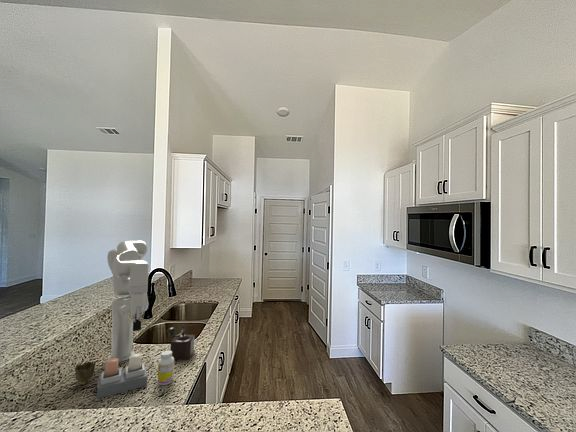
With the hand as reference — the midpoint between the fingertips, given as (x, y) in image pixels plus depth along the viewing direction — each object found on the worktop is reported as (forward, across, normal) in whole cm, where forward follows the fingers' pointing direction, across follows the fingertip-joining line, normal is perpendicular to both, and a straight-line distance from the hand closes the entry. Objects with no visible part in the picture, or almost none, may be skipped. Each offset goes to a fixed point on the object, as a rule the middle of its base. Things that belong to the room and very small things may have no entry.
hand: (136, 330), depth 122 cm
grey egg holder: (+23, 0, -5) cm, 23 cm away
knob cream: (+17, 0, 0) cm, 17 cm away
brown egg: (+17, 0, -9) cm, 19 cm away
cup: (+23, -10, -19) cm, 32 cm away
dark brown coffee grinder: (+23, -14, +22) cm, 35 cm away
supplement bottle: (+23, +6, +12) cm, 27 cm away
